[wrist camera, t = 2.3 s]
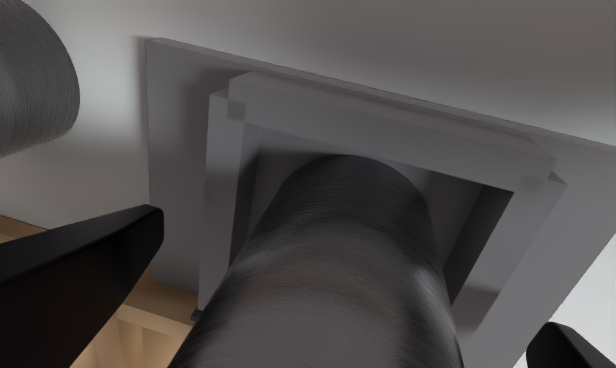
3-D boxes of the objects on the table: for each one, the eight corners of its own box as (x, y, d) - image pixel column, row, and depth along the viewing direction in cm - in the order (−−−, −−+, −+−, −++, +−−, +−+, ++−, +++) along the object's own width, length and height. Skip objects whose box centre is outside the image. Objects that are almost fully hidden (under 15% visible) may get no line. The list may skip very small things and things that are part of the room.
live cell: (457, 180, 8) (774, 869, 2) (400, 307, 10) (428, 838, 4) (284, 135, 9) (-58, 524, 2) (262, 266, 11) (58, 674, 4)
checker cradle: (641, 152, 8) (726, 196, 6) (465, 399, 12) (481, 469, 10) (163, 38, 9) (102, 43, 7) (165, 303, 14) (128, 351, 12)
